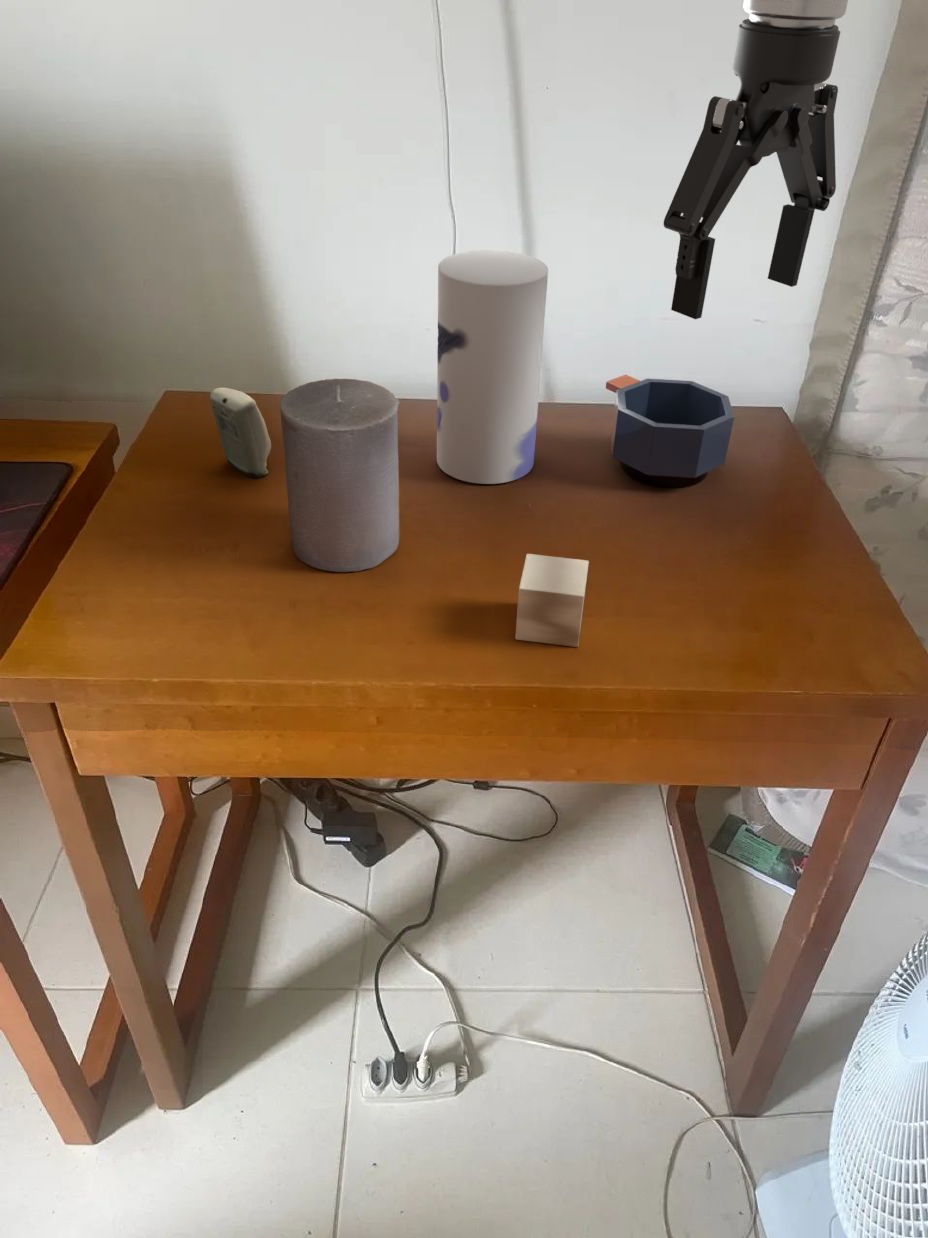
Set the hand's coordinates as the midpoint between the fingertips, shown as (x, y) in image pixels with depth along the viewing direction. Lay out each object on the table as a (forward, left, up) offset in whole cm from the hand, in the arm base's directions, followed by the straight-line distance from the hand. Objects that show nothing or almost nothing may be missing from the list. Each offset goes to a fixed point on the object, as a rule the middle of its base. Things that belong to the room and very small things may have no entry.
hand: (735, 297), depth 87 cm
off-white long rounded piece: (+31, +34, -19) cm, 50 cm away
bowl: (+6, 0, -17) cm, 18 cm away
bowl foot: (+5, 0, -19) cm, 19 cm away
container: (+17, +14, -19) cm, 29 cm away
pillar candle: (+13, +34, -19) cm, 41 cm away
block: (-7, +28, -19) cm, 35 cm away
